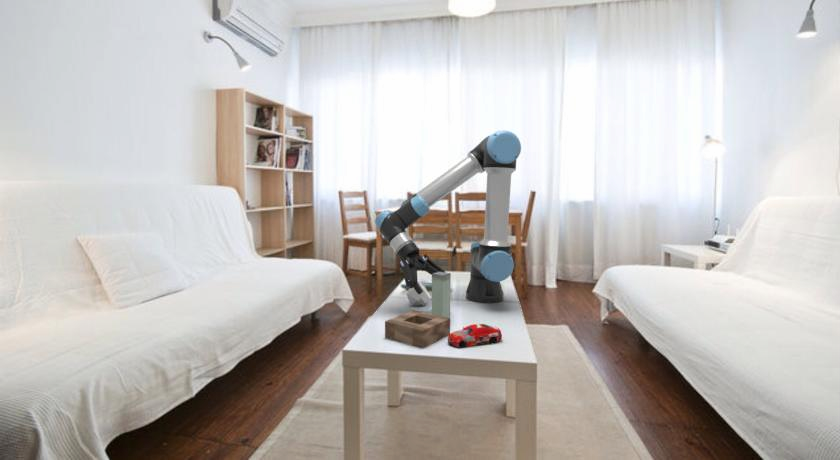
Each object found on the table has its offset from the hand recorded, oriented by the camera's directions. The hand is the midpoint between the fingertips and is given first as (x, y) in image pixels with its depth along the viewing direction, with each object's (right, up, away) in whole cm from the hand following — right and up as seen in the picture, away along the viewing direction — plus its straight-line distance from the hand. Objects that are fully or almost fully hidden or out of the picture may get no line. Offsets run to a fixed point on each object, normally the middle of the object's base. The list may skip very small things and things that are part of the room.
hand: (440, 296), depth 141 cm
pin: (0, -8, +1) cm, 8 cm away
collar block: (-7, -10, -14) cm, 19 cm away
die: (-8, -7, +21) cm, 23 cm away
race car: (+9, -11, -19) cm, 23 cm away
